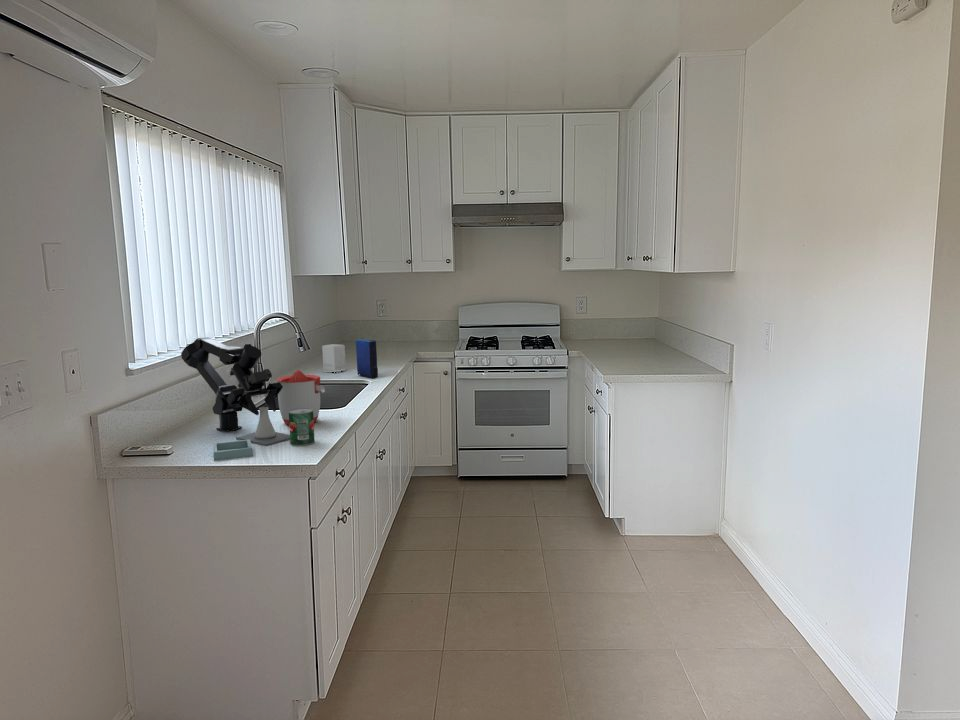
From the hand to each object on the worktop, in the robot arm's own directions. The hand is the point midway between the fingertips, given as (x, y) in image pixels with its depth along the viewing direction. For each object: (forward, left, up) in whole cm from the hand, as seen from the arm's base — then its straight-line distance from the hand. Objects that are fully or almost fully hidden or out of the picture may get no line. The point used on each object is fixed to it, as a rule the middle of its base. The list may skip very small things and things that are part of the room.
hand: (266, 412), depth 217 cm
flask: (-2, 0, -9) cm, 9 cm away
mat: (-1, 0, -9) cm, 9 cm away
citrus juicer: (-8, +22, -9) cm, 25 cm away
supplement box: (-86, +111, -9) cm, 141 cm away
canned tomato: (+14, +3, -9) cm, 17 cm away
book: (-58, +108, -9) cm, 123 cm away
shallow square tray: (+5, -17, -9) cm, 20 cm away
